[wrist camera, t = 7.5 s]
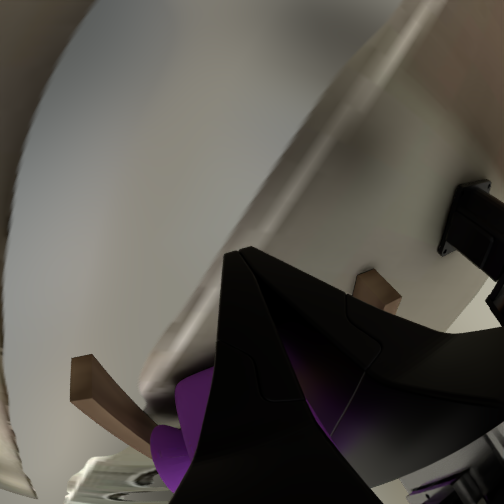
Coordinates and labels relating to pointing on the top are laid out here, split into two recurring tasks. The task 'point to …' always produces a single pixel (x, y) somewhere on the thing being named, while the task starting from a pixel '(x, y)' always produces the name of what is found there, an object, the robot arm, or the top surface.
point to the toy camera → (186, 429)
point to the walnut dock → (132, 417)
